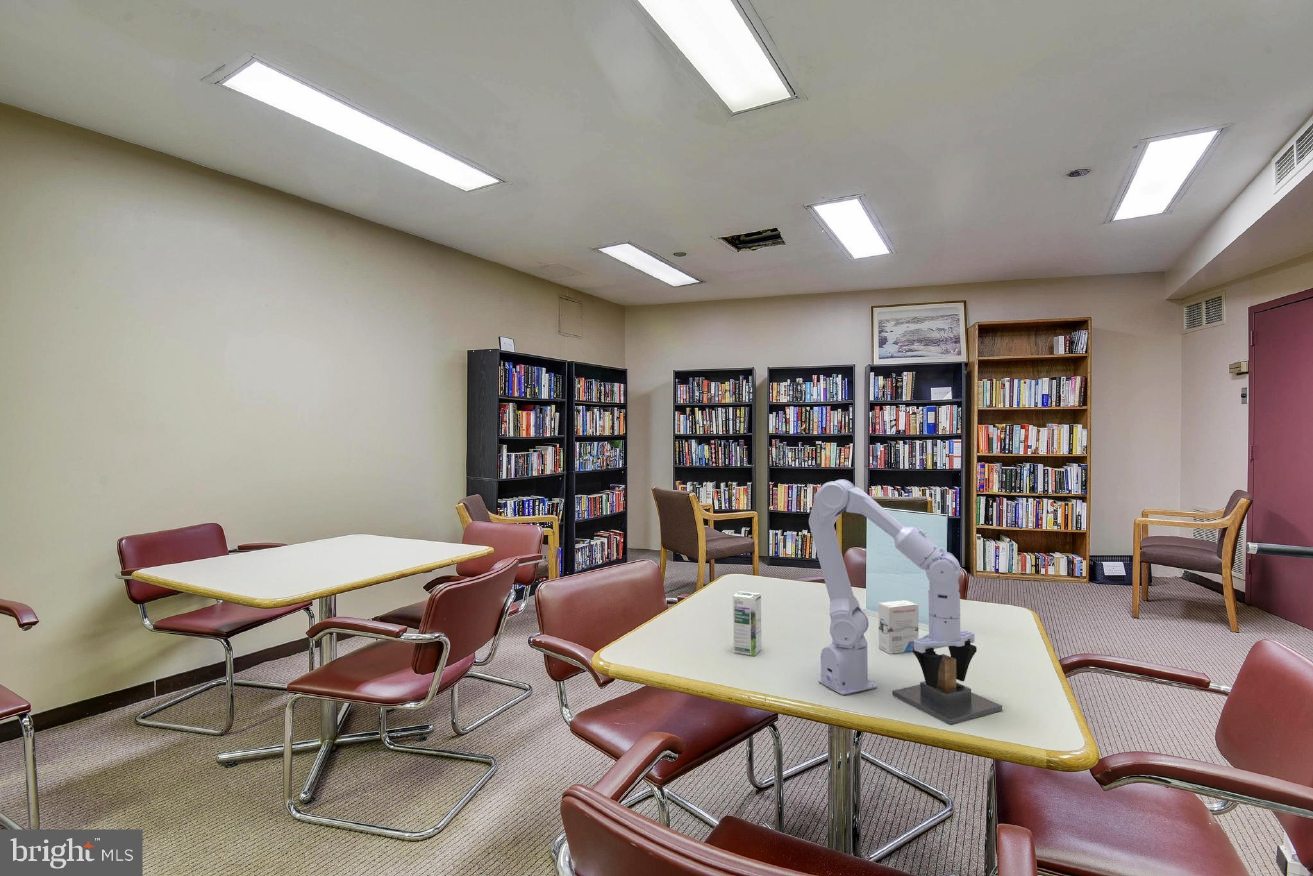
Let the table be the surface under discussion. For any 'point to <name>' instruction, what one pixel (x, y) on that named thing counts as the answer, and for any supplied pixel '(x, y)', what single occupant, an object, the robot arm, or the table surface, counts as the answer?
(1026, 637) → the table surface
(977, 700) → the socket plate
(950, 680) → the oak peg
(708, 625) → the table surface
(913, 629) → the ink box
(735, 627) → the syrup box
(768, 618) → the table surface
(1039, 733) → the table surface
